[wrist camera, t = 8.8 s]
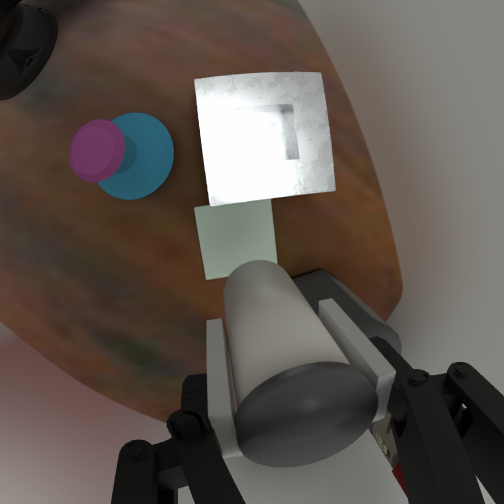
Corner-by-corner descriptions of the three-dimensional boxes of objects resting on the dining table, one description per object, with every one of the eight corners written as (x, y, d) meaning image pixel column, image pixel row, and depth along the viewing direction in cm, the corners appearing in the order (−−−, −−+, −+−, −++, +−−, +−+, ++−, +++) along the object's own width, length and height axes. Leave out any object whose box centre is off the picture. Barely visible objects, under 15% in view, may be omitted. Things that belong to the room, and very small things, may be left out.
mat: (194, 207, 34) (194, 207, 33) (269, 196, 35) (270, 196, 34) (206, 278, 36) (206, 279, 36) (276, 266, 37) (277, 268, 37)
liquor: (332, 262, 38) (504, 415, 10) (340, 318, 41) (465, 476, 12) (267, 283, 38) (375, 500, 9) (282, 339, 40) (366, 532, 12)
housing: (197, 94, 30) (194, 79, 24) (303, 86, 31) (320, 72, 25) (210, 200, 34) (210, 206, 28) (316, 187, 35) (335, 190, 29)
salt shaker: (214, 263, 19) (224, 396, 8) (292, 251, 19) (388, 357, 8) (226, 330, 20) (247, 476, 9) (296, 318, 21) (367, 445, 10)
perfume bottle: (183, 121, 31) (163, 86, 16) (174, 198, 33) (148, 219, 19) (110, 119, 29) (50, 93, 15) (103, 194, 32) (38, 212, 17)
